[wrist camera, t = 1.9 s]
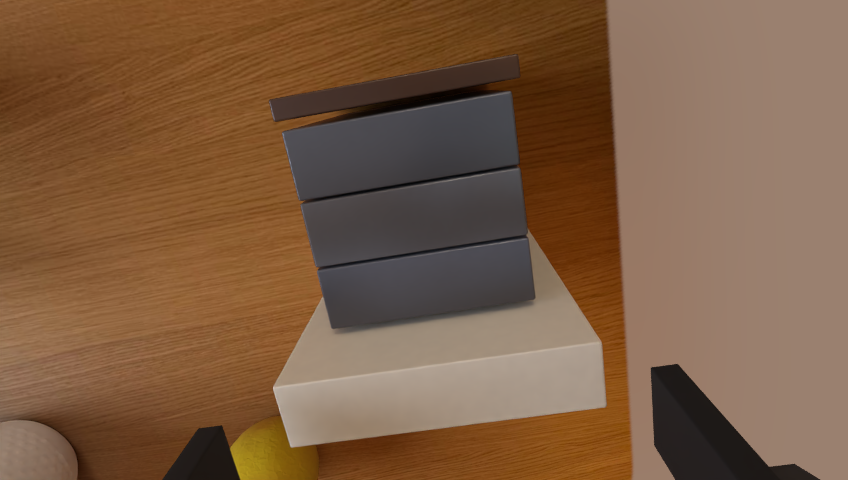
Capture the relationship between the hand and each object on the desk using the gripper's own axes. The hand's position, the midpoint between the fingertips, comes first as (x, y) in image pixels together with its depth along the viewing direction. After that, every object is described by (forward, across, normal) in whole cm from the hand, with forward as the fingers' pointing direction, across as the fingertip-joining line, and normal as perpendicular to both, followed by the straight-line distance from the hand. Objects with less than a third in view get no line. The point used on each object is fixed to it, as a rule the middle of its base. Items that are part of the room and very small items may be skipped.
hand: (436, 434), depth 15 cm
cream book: (+18, 0, 0) cm, 18 cm away
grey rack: (+18, 0, +4) cm, 18 cm away
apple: (+18, -13, -12) cm, 25 cm away
